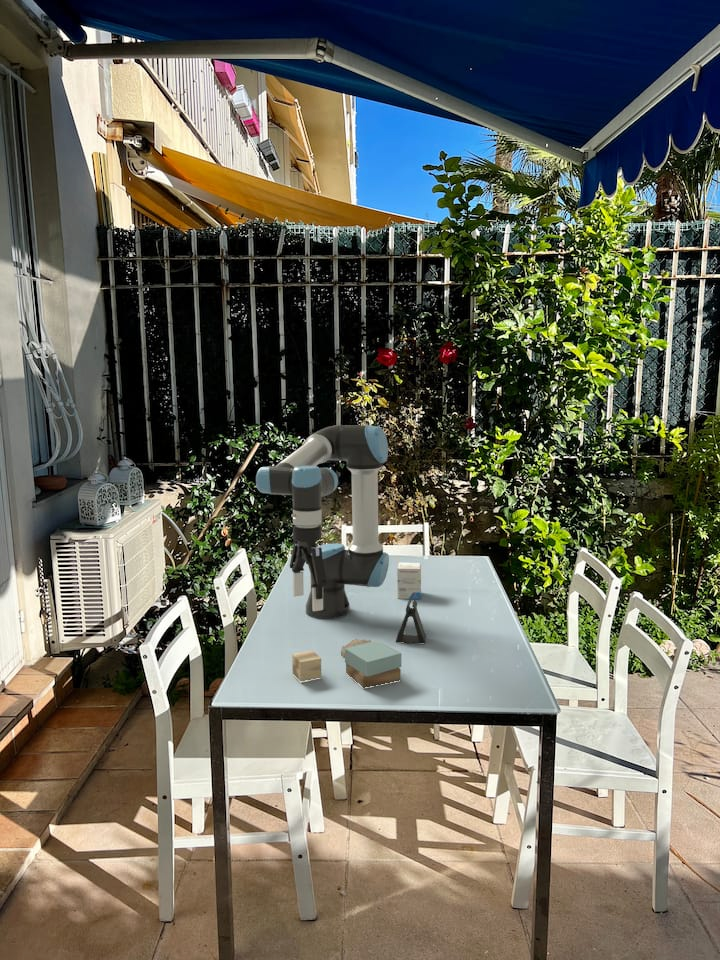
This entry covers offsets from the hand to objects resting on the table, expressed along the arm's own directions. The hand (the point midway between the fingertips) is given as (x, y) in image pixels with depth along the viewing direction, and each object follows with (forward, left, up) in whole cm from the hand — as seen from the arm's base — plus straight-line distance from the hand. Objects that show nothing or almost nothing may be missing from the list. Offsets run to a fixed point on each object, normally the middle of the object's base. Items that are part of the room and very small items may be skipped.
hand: (307, 602), depth 191 cm
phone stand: (-11, +39, -21) cm, 45 cm away
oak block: (0, 0, -21) cm, 21 cm away
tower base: (+8, +16, -21) cm, 28 cm away
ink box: (-49, +60, -21) cm, 80 cm away
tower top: (+8, +16, -17) cm, 25 cm away
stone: (-9, +21, -22) cm, 31 cm away
